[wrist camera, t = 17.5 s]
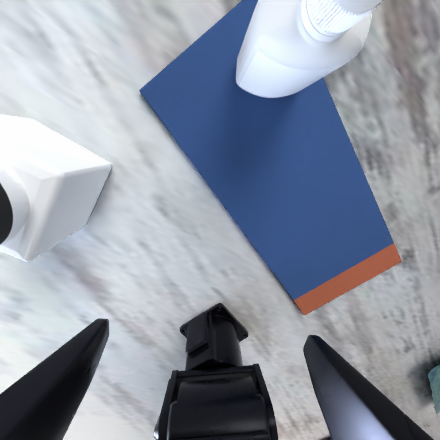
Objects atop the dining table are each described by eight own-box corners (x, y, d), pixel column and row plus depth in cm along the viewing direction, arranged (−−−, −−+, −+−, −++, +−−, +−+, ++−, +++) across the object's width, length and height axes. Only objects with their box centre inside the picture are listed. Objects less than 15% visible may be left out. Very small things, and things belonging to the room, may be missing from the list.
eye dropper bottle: (279, 120, 18) (404, 76, 7) (226, 78, 16) (266, -67, 5) (312, 70, 17) (532, -85, 5) (257, 21, 15) (398, -323, 4)
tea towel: (398, 259, 24) (401, 261, 24) (303, 313, 26) (304, 315, 26) (275, -26, 15) (277, -31, 14) (140, 91, 17) (138, 90, 16)
